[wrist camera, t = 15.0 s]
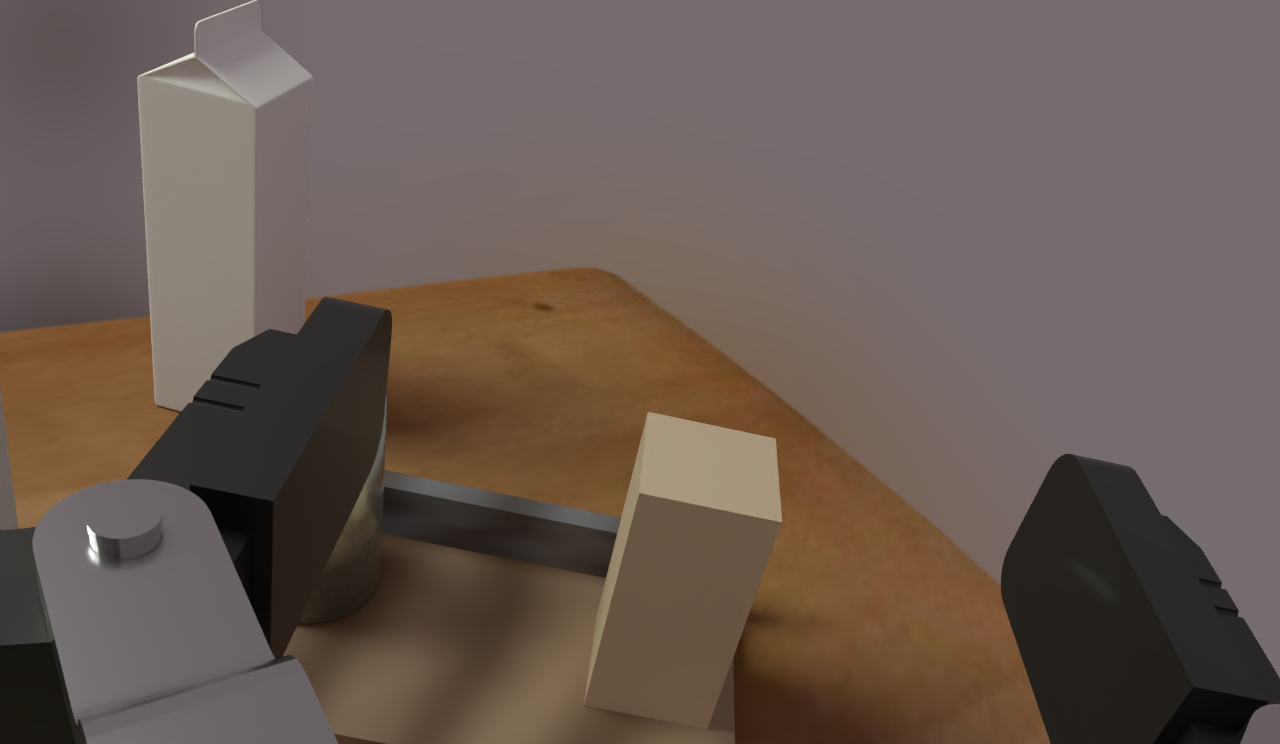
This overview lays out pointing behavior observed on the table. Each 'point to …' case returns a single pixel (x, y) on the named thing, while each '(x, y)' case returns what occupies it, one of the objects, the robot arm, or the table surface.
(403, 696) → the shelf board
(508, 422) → the table surface
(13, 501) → the skincare box
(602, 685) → the kraft carton
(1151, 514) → the robot arm
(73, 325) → the table surface
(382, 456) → the oat tin
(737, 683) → the table surface
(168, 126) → the milk
